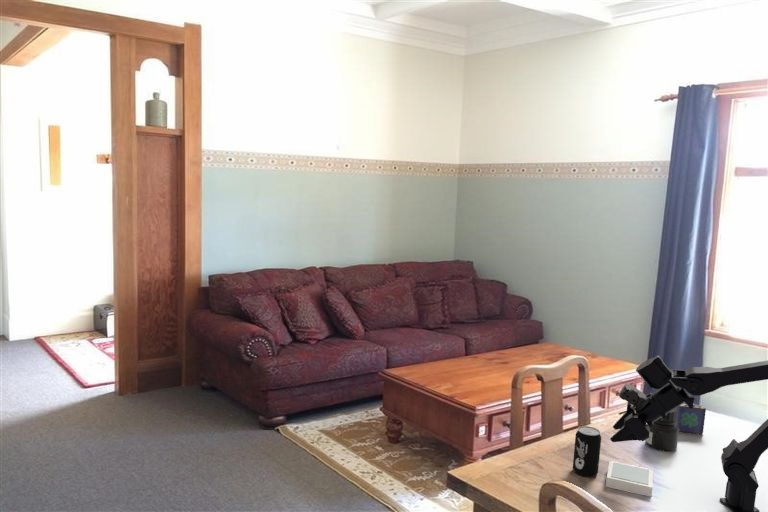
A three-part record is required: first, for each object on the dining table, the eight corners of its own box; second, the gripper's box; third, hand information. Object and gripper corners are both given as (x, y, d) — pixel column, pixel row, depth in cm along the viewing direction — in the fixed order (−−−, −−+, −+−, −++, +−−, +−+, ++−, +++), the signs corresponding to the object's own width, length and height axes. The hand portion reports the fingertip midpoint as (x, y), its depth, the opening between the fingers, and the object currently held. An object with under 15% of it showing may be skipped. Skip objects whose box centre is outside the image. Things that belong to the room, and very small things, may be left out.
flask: (672, 432, 204) (676, 399, 203) (670, 428, 207) (674, 396, 205) (703, 436, 202) (707, 403, 200) (701, 432, 205) (705, 400, 203)
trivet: (652, 478, 171) (653, 469, 171) (651, 496, 161) (652, 487, 160) (609, 469, 175) (609, 460, 175) (605, 486, 165) (606, 476, 165)
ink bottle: (650, 437, 199) (654, 400, 197) (680, 445, 193) (685, 407, 192) (640, 446, 191) (644, 408, 190) (671, 455, 186) (675, 416, 184)
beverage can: (599, 479, 169) (603, 436, 167) (573, 476, 170) (577, 433, 168) (596, 468, 175) (600, 427, 174) (571, 465, 176) (575, 424, 175)
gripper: (642, 367, 173) (595, 398, 179) (639, 387, 156) (588, 421, 162) (670, 400, 171) (622, 431, 176) (671, 424, 154) (618, 457, 159)
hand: (612, 434), depth 169 cm, fingers open, 9 cm apart
